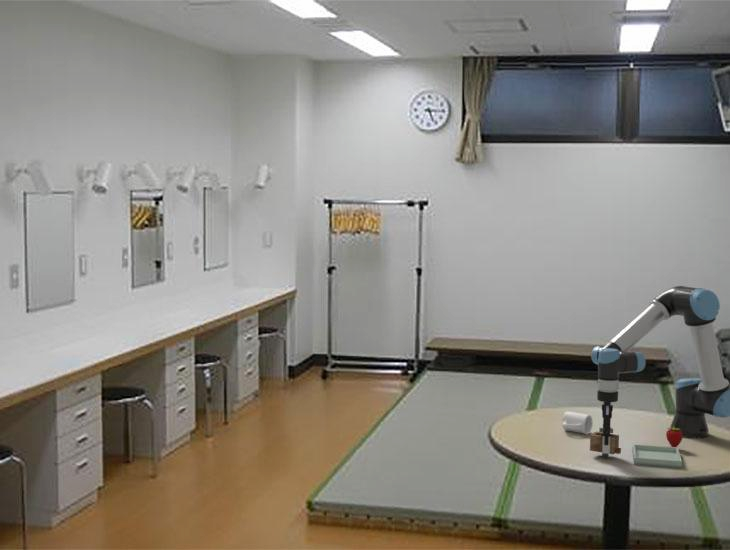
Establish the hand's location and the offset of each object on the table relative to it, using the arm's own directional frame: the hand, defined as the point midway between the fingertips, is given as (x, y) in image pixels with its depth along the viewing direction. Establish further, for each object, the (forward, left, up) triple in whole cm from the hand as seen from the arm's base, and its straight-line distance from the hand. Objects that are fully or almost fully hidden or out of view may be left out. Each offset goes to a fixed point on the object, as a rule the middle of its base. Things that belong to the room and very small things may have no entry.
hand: (605, 450), depth 353 cm
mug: (+12, -34, -3) cm, 36 cm away
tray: (-18, -3, -3) cm, 19 cm away
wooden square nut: (+1, 0, 0) cm, 1 cm away
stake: (0, 0, -3) cm, 3 cm away
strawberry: (-26, -20, -3) cm, 33 cm away
